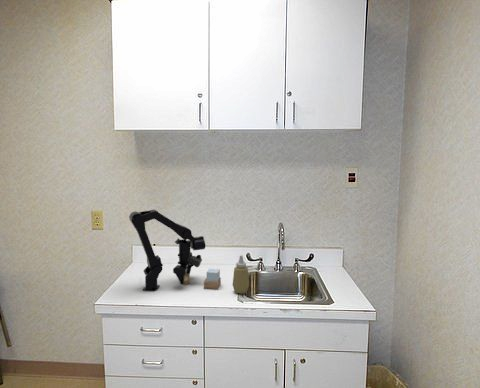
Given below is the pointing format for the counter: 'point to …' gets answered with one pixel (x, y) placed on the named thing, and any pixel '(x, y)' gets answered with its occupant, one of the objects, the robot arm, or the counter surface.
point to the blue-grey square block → (213, 275)
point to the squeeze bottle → (240, 277)
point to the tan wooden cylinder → (186, 279)
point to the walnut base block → (212, 284)
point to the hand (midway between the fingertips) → (185, 280)
